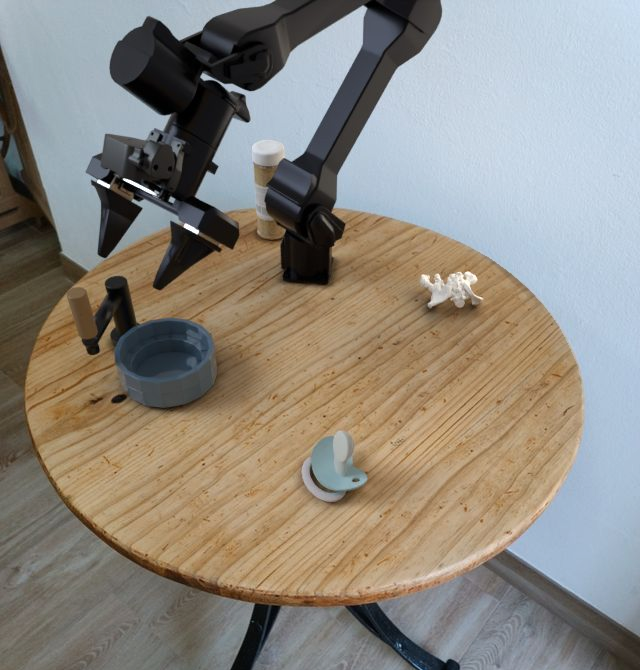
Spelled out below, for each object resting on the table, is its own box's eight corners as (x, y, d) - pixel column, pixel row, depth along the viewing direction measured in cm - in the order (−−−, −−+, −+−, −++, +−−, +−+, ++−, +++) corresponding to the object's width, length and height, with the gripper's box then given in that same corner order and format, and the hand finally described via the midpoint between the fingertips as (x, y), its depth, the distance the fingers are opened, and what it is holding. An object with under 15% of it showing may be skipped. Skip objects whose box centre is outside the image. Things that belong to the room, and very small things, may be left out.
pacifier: (319, 514, 69) (372, 495, 70) (317, 475, 64) (375, 455, 66) (291, 462, 73) (343, 445, 75) (289, 423, 69) (343, 405, 70)
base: (152, 331, 88) (150, 323, 87) (141, 353, 85) (139, 346, 84) (118, 327, 88) (117, 320, 87) (107, 349, 85) (104, 342, 84)
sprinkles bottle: (292, 235, 104) (290, 148, 94) (266, 244, 102) (261, 156, 92) (276, 221, 107) (273, 135, 97) (251, 230, 105) (245, 143, 95)
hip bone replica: (475, 260, 93) (492, 285, 88) (470, 287, 96) (486, 313, 91) (418, 264, 92) (432, 289, 87) (415, 291, 95) (428, 318, 90)
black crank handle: (121, 325, 87) (99, 237, 78) (141, 327, 86) (122, 239, 77) (88, 386, 79) (60, 297, 70) (110, 388, 79) (84, 299, 70)
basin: (226, 351, 85) (223, 322, 82) (204, 415, 78) (199, 386, 75) (139, 342, 86) (132, 313, 83) (108, 404, 79) (99, 375, 75)
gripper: (79, 73, 69) (16, 215, 71) (208, 127, 61) (133, 285, 63) (152, 127, 79) (95, 250, 81) (271, 179, 71) (204, 314, 73)
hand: (128, 272), depth 75 cm, fingers open, 9 cm apart
